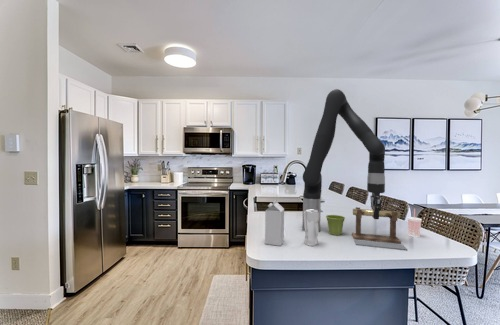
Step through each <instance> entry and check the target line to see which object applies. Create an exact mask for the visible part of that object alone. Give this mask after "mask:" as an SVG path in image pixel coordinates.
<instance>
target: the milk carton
mask: <svg viewBox="0 0 500 325" xmlns="http://www.w3.org/2000/svg"><path fill="white" fill-rule="evenodd" d="M267 207H268V208H267V209H265V218H264V220H265V221H264V222H265V223H264V224H265V226H264V244H265V245H270V246H277V247H278V246H282V245H283V243H284V241H285V240H284V239H285V238H284V237H285V235H284V234H285V208H284V207H283V206H282V205H281V204H279V202H278V200H277V199H276V200H274V201H273V202H270V203H269V204H268V205H267Z"/></svg>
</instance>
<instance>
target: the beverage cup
mask: <svg viewBox="0 0 500 325" xmlns="http://www.w3.org/2000/svg"><path fill="white" fill-rule="evenodd" d="M406 219H407V229H408V236H409V237H412V238H420V237H421V226H422V222H423V221H422V218H419V217H416V208H413V216H408V217H406Z"/></svg>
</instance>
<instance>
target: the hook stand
mask: <svg viewBox="0 0 500 325" xmlns="http://www.w3.org/2000/svg"><path fill="white" fill-rule="evenodd" d="M355 209H357V215H355V232H351V236H352V239H353V240H362V241H372V242H382V243H392V244H401V245H402V240H400V238H399V237H397V222H398V219H399V218H398V212H399V211H397V212H392V218H390V217H388V218H389V235H381V234H370V233H363V232H362V218H363V217H362V216H363V215H362V210H361V209H362V208H361V207H357V206H356V207H355ZM388 211H395V209H391V208H390V209H388Z"/></svg>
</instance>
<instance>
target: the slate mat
mask: <svg viewBox="0 0 500 325" xmlns="http://www.w3.org/2000/svg"><path fill="white" fill-rule="evenodd" d="M353 242H354V244H355V246H362V247H372V248H379V249H380V248H381V249H390V250H398V251H399V250H400V251H408V248H407V247H406V246H405V245H404V244H402V243H401V244H397V243H387V242H377V241H367V240H357V239H353Z"/></svg>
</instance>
